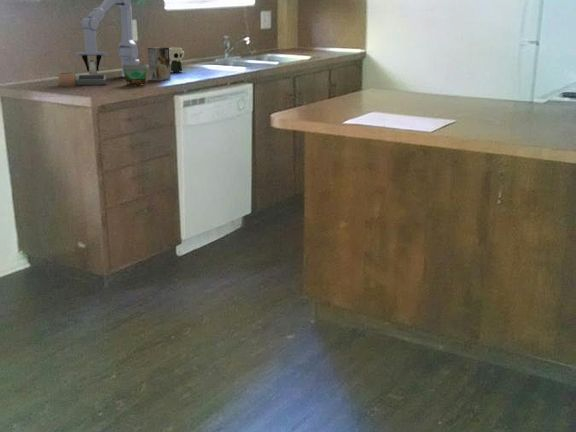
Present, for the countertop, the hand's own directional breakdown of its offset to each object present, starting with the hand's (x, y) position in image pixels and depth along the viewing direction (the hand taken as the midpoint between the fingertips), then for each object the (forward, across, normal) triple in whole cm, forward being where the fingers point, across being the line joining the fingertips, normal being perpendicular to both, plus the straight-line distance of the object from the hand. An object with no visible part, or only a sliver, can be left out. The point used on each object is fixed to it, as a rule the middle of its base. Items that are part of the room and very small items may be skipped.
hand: (92, 70), depth 365 cm
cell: (+1, 0, 0) cm, 1 cm away
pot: (+6, -12, -11) cm, 17 cm away
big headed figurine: (+6, +44, +34) cm, 56 cm away
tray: (+5, -1, -2) cm, 6 cm away
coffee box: (+6, +33, +4) cm, 34 cm away
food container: (+6, +21, -16) cm, 27 cm away
